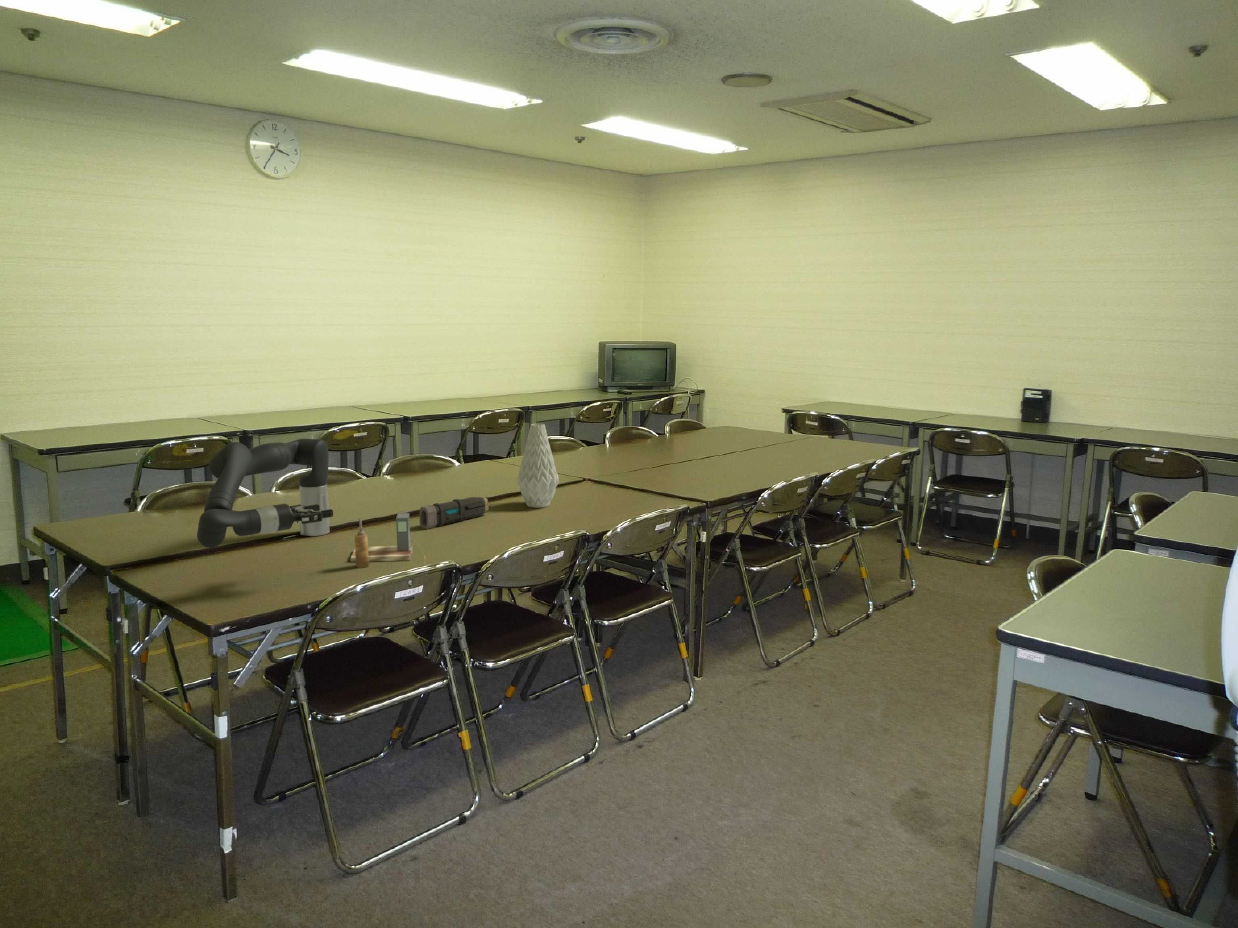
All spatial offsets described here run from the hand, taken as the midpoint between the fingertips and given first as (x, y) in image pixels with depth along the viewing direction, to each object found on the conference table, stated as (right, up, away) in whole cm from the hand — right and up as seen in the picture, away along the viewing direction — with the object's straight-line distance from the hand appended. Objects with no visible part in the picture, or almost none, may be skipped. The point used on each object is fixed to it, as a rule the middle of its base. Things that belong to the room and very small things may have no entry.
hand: (325, 510), depth 264 cm
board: (+11, -16, +22) cm, 29 cm away
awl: (+8, -18, +11) cm, 22 cm away
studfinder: (+17, -14, +25) cm, 33 cm away
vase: (+54, -3, +94) cm, 109 cm away
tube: (+26, -8, +67) cm, 73 cm away
